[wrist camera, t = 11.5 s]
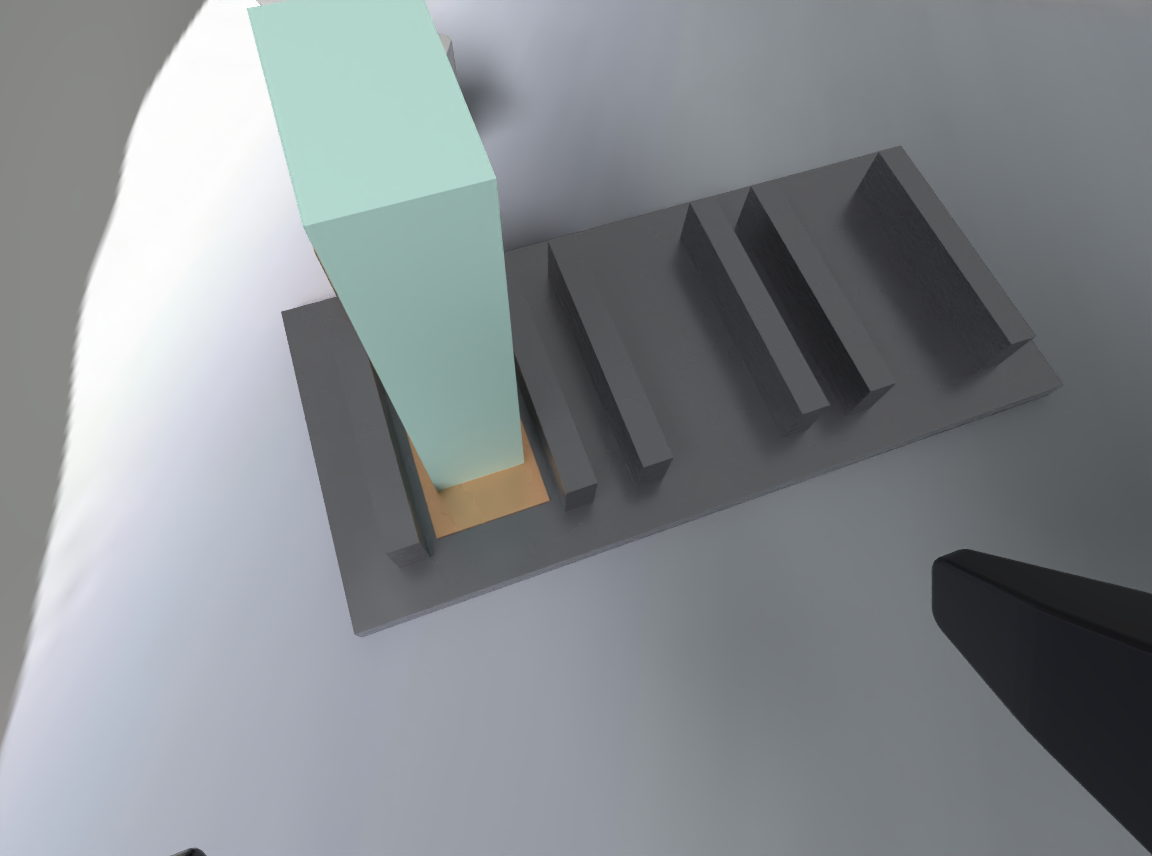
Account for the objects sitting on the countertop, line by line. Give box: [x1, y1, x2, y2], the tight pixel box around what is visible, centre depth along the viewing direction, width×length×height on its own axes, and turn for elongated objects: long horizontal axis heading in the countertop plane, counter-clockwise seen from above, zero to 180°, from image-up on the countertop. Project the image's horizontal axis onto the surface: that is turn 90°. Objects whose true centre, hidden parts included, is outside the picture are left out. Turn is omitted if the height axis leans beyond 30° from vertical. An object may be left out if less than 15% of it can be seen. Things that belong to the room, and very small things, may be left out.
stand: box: [281, 146, 1063, 637], centre depth 23 cm, size 12×26×5 cm, turn 110°
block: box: [247, 0, 524, 491], centre depth 17 cm, size 3×5×13 cm, turn 20°
